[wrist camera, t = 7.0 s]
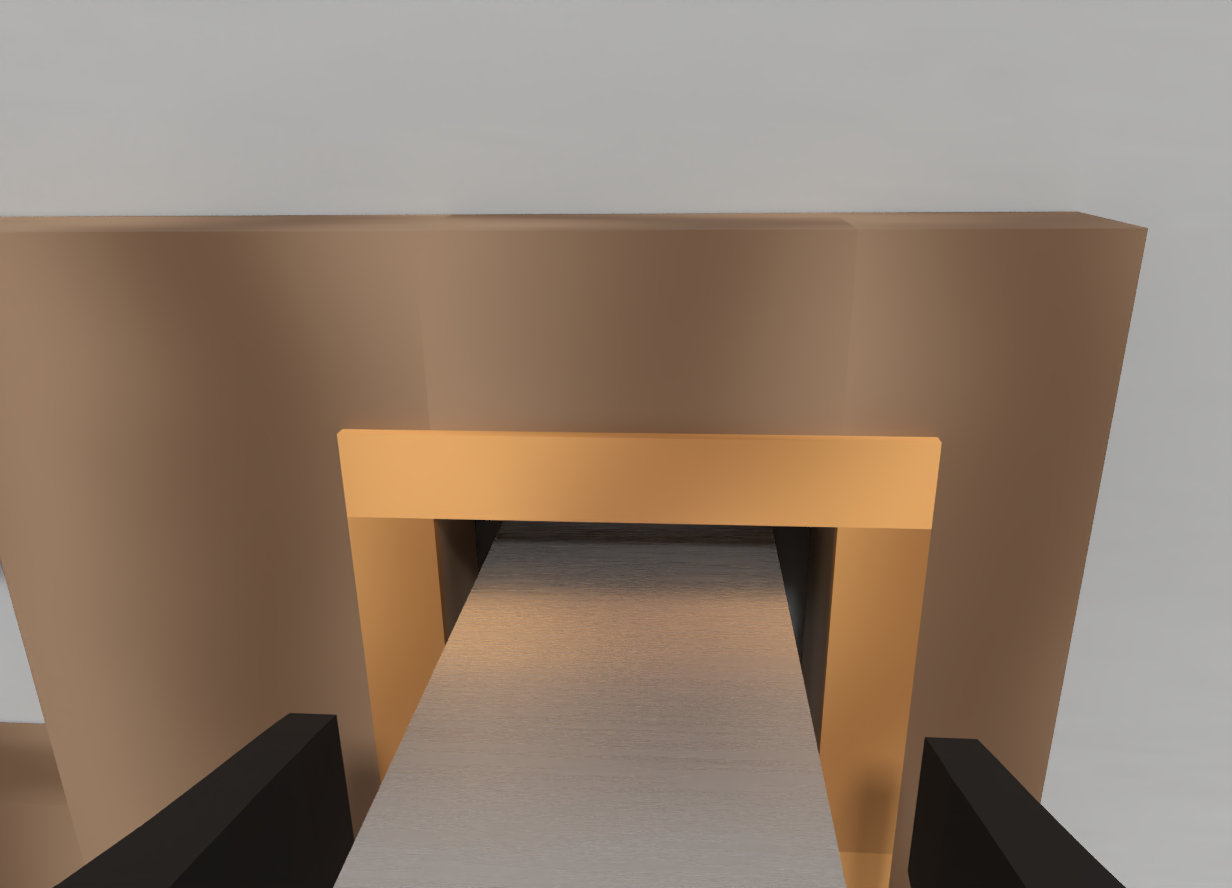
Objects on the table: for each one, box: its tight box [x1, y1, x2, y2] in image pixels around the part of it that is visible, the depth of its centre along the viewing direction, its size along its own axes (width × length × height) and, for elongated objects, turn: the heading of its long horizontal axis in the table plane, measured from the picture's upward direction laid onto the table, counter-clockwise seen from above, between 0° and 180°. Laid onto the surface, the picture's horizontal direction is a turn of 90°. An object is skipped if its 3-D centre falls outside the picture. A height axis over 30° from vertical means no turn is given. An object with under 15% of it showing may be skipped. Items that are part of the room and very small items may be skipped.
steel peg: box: [333, 520, 846, 888], centre depth 11 cm, size 4×4×8 cm
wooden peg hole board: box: [0, 212, 1148, 888], centre depth 14 cm, size 24×13×2 cm, turn 90°
